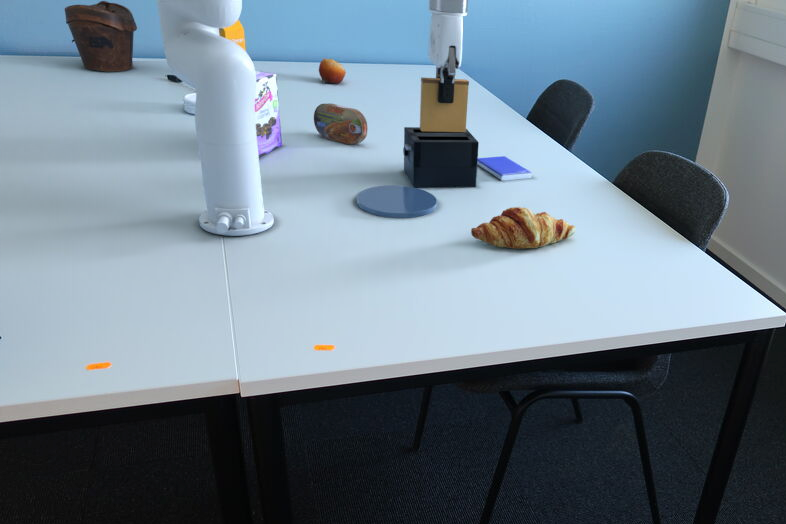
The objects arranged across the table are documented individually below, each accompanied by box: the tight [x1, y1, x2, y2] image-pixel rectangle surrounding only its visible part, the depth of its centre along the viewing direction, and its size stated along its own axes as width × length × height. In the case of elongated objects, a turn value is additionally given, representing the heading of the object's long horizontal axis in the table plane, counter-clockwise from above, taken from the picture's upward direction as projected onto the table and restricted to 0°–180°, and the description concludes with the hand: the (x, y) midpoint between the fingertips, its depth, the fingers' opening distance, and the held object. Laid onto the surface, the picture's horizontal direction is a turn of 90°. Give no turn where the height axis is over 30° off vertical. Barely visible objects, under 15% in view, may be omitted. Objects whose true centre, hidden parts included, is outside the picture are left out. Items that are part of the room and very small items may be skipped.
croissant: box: [470, 206, 577, 250], centre depth 141 cm, size 21×10×8 cm, turn 114°
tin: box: [313, 102, 368, 146], centre depth 182 cm, size 15×3×8 cm, turn 62°
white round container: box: [182, 92, 196, 115], centre depth 193 cm, size 10×10×4 cm
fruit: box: [318, 58, 347, 85], centre depth 233 cm, size 8×8×8 cm
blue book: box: [477, 155, 533, 182], centre depth 177 cm, size 2×8×12 cm
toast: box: [419, 77, 470, 132], centre depth 157 cm, size 2×10×10 cm, turn 110°
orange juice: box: [219, 19, 247, 53], centre depth 219 cm, size 8×9×20 cm
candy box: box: [255, 70, 283, 158], centre depth 167 cm, size 14×6×16 cm, turn 168°
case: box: [64, 0, 138, 72], centre depth 217 cm, size 18×20×18 cm
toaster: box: [402, 126, 479, 189], centre depth 165 cm, size 11×15×10 cm
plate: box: [356, 184, 438, 219], centre depth 152 cm, size 16×16×1 cm
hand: (444, 100), depth 156 cm, fingers closed on toast, 2 cm apart
